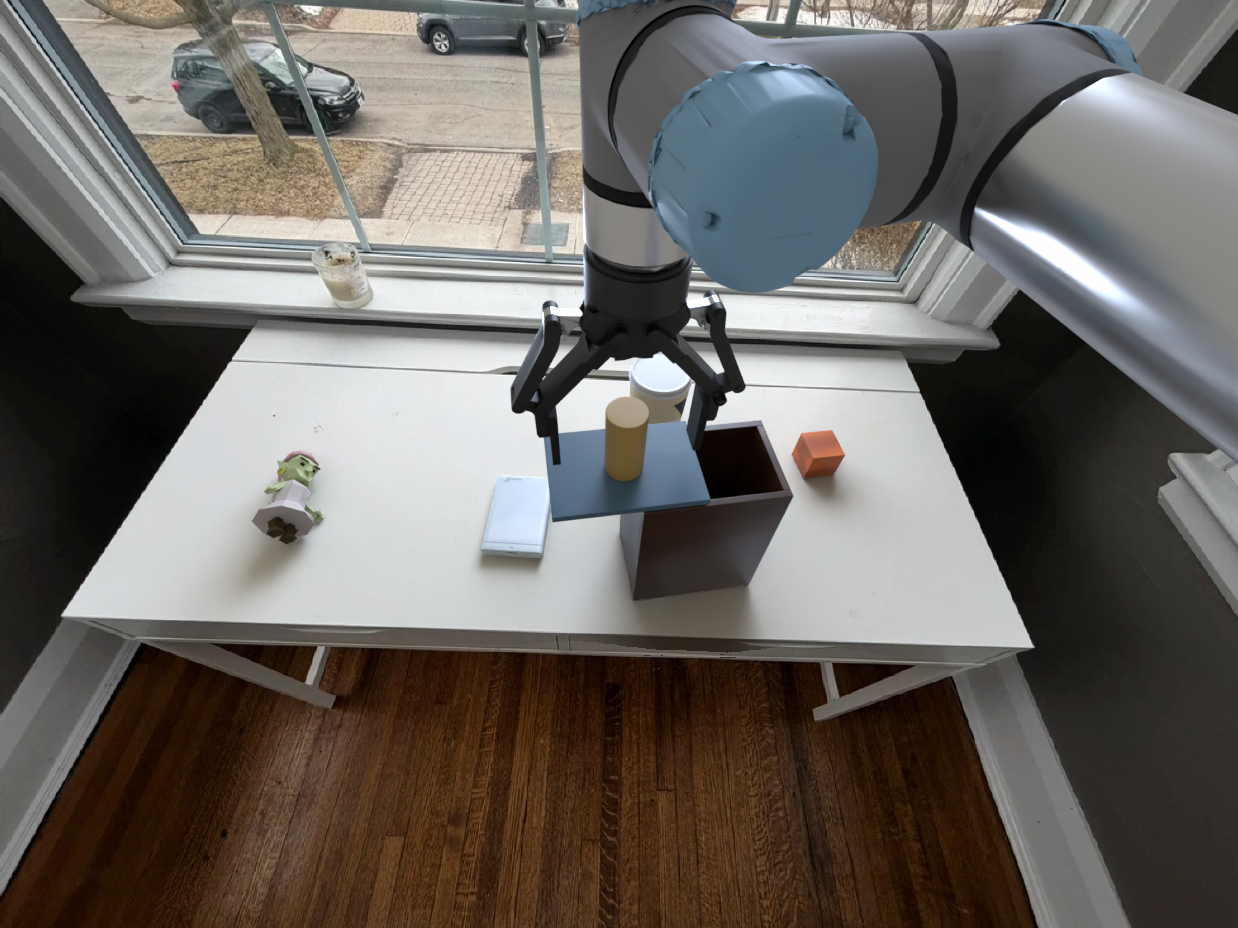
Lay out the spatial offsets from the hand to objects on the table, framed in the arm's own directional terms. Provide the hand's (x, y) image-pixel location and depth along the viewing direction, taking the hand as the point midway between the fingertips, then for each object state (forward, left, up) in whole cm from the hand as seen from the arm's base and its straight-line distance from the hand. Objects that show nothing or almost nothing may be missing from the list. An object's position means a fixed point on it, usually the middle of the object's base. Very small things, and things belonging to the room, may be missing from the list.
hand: (625, 447), depth 53 cm
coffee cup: (+24, -10, -25) cm, 36 cm away
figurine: (+16, +40, -21) cm, 48 cm away
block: (+13, -33, -25) cm, 44 cm away
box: (0, -9, -25) cm, 27 cm away
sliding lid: (0, 0, -4) cm, 4 cm away
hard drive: (+10, +12, -25) cm, 30 cm away
